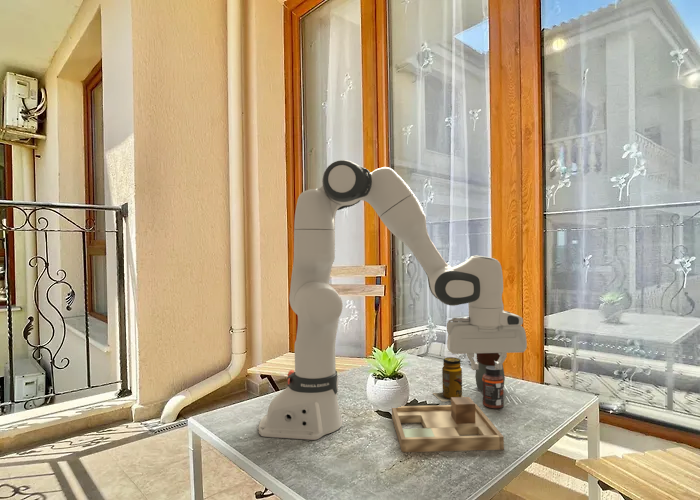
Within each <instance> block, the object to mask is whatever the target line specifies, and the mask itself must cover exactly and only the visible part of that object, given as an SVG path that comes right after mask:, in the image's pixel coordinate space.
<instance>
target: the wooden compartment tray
mask: <svg viewBox="0 0 700 500" xmlns="http://www.w3.org/2000/svg"><path fill="white" fill-rule="evenodd" d="M400 406H401V407H398V408H392V407H391V418H392V423H393V426H394V429H395V432H396V437H397V439H398V440H397V441H398V443H399V447H400V450H401V453H420V452H422V453H423V452H458V451H459V452H462V451H499V450H502V451H503V450H504V451H505V439H504V435H503V434H502V433H501V432H500V430H499V429H498V428H497V427H496V426H495V424H494V423H493V422H492V421H491V420H490V419H489V417H488V416H487V415H486V414H485V413H484V411H483V410H482V409H481V408H480V406H478V404H477V403H475V423H467V424H456V423H455V421H454V419H453V418H452V416H451V404H442V405H441V404H439V405H437V404H436V405H400ZM410 423H421V425H422V428H403V426H402V424H410Z"/></svg>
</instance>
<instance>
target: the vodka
mask: <svg viewBox="0 0 700 500" xmlns="http://www.w3.org/2000/svg"><path fill="white" fill-rule="evenodd" d="M475 354H476V362H477V363H478V364H479V367H478V368H479V370H475V377H474V378H475V384H476V387H477V389H478V390H479V391H480V392H483V388H482V387H483V386H482V377H483V374H485V373H486V367H487V366H495V361H498V359H499V357H500V355H499V354H498V353H475ZM500 375H502V377H503V386H504V387H505V381H506V380H505V379H506V377H505V370H504V362H503V363H502V370H500Z"/></svg>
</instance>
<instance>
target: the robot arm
mask: <svg viewBox="0 0 700 500" xmlns="http://www.w3.org/2000/svg"><path fill="white" fill-rule="evenodd" d="M322 175H323V176H322V185H321V187H318V188H310V189H306V190H304V191H302V192H301V193H300V194H299V196H298V198H297V200H296V201H297V203H296V206H295V213H294V226H293V227H294V228H293V229H294V230H293V239H294V240H293V264H292V271H291V278H290V279H291V280H290V290H289V296H288V297H289V298H288V299H289V300H288V301H289V305H290V307H291V310H292V311H293V312H294V313H295V315H297V328H296V329H297V330H296V338H295V342H294V369H290V370H288V373H287V387H285V389H284V390H282V391H281V392H279V394H277V395H275V396H274V398H273V399H272V400H271V401H270V403H269V406H268V409H267V414H265V415H264V416H263V417H262V418H261V420H260V421H259V424H258V430H259V431H258V433H259V435H260V436H261V437H266V438H267V437H268V438H280V439H293V440H294V439H297V440H308V441H309V440H312V441H313V440H314V441H316V440H319V439H320V438H322V437H324V436H325V435H328V434H330V433H334V432H336V431H337V430H338V431H339V429H340V428H341V427H342V426H343V424H344V421H343V419H342V415H341V410H340V407H339V402H338V400H339V399H338V390H339V376H338V371H337V370H336V367H337V365H336V364H337V363H336V342H337V341H336V340H337V332H338V327H339V321H340V320H339V319H340V316H341V315H342V312H343V307H344V306H343V300H342V298H341V296H340V294H339V292H338V291H337V290H336V289H335V288H334V287H333V286H331V285H330V277H331V272H332V269H333V268H332V267H333V264H334V262H335V258H336V257H335V251H336V250H335V245H336V243H335V242H336V226H335V225H336V215H337V211H340V210H342V209H346V208H350V207H353V206H356V204H358V203H360V202H361V201H363V202H366V203H367V204H369V205H370V207H372V208H373V210H374V211H375V213H376V214H377V216H378V217H379V219H380V220H381V222H382V223H383V225H384V226H385V227H386V228H387V229H388V230H389V231H390V233H392V235H394V236H395V237H396V238H397V239H398V240H399V241H401V242H402V243H403V244H404V245H406V246H407V248H408V249H409V250H410V251H411V253H412V254H413V255H414V257H415V258H416V260H417V261H418V263H419V264H420V266H421V268H422V269H423V270H424V272H425V274H426V276H427V283H428V288H429V291H430V293H431V294H432V295H433V297H435V299H437V300H439V302H441V303H443V304H445V305H446V306H452V307H454V306H458V305H459V306H460V305H465V304H468V309H467V310H468V316H467V317H453V318H451V319H449V320H448V321H447V323H446V333H447V341H446V342H447V344H446V347H447V350H448V351H449V352H450V353H451V354H453V355H460V354H462V355H463V354H465V355H466V357H467V359H468V360H469V361H470V368H471V370H472V371H476V370H479V368H478V367H479V364H478V363H477V361H475V360H474V358H475V354H476V353H498V354H499V355H500V357H499V359H498V361H495V369H496V370H502V363H503V364H504V362H505V360H506V359H507V353H514V354H515V353H525V351H526V350H527V348H528V345H527V344H528V342H527V335H526V329H525V328H524V327H523V323H524V318H523V317H521V316H520V315H518V314H515V313H513V312H510V311H507V310H504V303H503V293H504V276H503V270H502V269H503V267H502V265H501V262H500V261H499V260H498V259H496V258H493V257H489V256H485V255H484V256H483V255H477V254H476V255H470V257H469V258H467V259H466V260H465V261H463V262H461V263H458V264H457V265H455V266H452V265H450V264H448V263H447V262H446V260H445V259H444V258H443V257H442V255H441V253H440V252H439V250H438V248H437V247H436V246H435V244H434V243H433V241H432V240H431V238H430V235H429V232H428V229H427V216H426V214H425V212H424V210H423V207H422V205H421V203H420V201H419V199H418V198H417V196H416V195H415V194H414V192H413V191H412V190H411V188H410V186H409V185H408V184H407V183H406V182H405V181H404V179H403V178H402V177H401V176H400V175H399V174H398V173H397V172H396V171H395V170H394V169H392V168H391V167H388V166H383V167H379V168H377V169H374V170H373V171H371V172H370V170H369V169H367V168H366V167H364V166H361V165H359V164H358V163H356V162H353V161H351V160H345V159H340V160H336V161H333V162H332V163H330V164H329V165H328V166H327V167H326V169H325V171H324V173H323V174H322Z"/></svg>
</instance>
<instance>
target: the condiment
mask: <svg viewBox="0 0 700 500" xmlns="http://www.w3.org/2000/svg"><path fill="white" fill-rule="evenodd" d="M442 364H443V365H442V370H441V371H442V372H441V373H442V375H441V377H442V391H441V392H433V393H432V394H433V395H434V397H436V398H437V399H438V400H439V401H441V403H445V402H451V397H465V396H464V395H463V368H462V367H461V359H460V358H458V357H453V356H452V357H451V356H449V357H447V356H446V357H444V359H443V363H442Z"/></svg>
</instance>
